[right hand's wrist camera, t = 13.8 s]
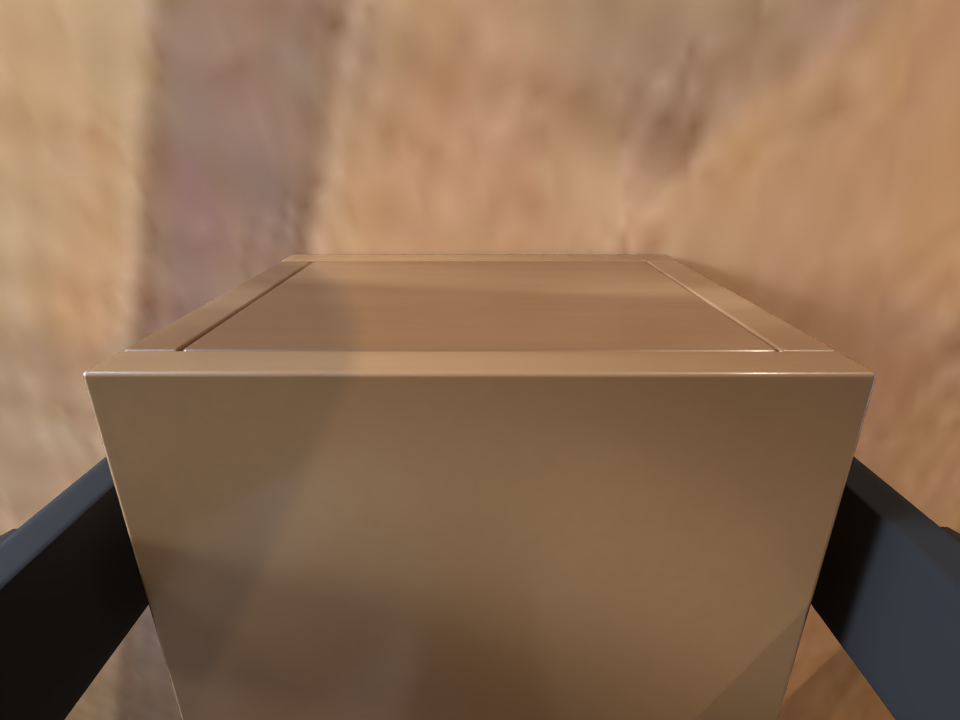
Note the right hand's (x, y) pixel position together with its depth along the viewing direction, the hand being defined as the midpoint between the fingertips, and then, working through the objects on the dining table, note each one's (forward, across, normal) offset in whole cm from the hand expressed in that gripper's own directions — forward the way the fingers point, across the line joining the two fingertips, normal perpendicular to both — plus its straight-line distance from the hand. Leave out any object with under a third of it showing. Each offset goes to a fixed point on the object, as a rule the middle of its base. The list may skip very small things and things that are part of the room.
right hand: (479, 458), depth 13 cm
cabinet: (+5, 0, -4) cm, 6 cm away
